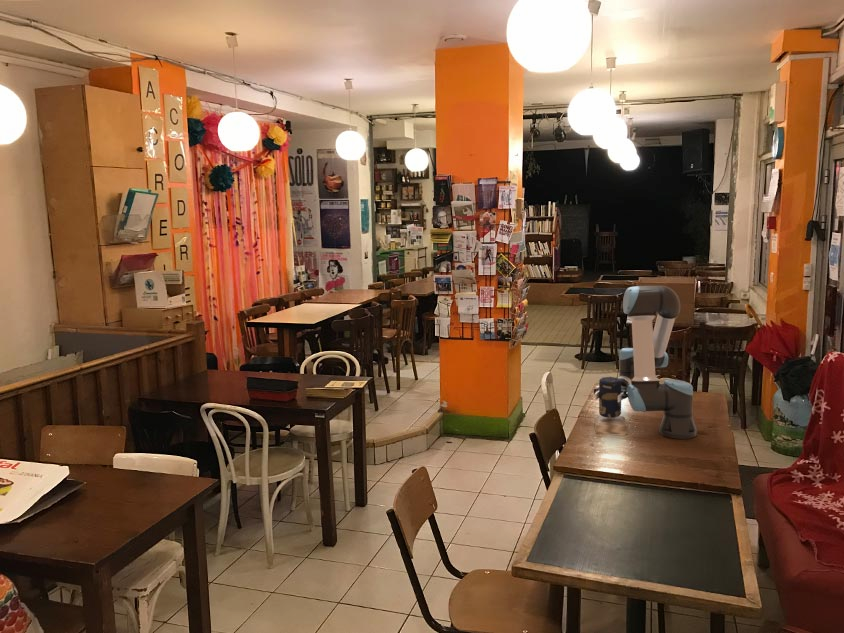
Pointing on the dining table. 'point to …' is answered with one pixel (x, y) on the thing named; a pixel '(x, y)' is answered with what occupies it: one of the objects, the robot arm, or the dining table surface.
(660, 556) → the dining table surface
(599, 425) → the stand
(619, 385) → the canister
